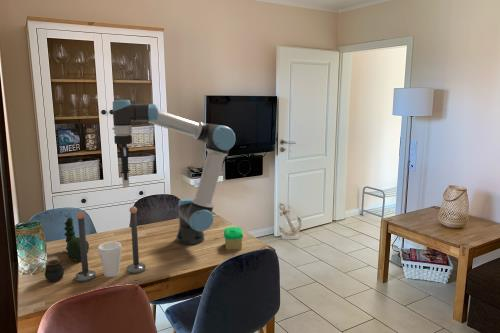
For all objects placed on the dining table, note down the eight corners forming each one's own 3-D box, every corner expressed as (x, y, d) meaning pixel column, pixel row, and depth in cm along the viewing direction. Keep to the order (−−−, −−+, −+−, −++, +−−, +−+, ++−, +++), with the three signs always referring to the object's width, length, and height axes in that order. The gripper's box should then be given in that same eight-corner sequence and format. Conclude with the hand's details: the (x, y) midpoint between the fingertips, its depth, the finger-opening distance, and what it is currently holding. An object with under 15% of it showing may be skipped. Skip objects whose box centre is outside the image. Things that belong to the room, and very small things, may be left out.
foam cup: (100, 280, 161) (98, 251, 159) (99, 271, 170) (97, 243, 167) (124, 276, 165) (122, 247, 163) (121, 267, 173) (120, 240, 171)
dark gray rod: (89, 271, 165) (84, 210, 160) (89, 274, 162) (84, 212, 157) (81, 272, 164) (76, 211, 159) (81, 276, 161) (76, 213, 156)
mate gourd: (66, 274, 166) (64, 253, 164) (61, 283, 159) (59, 261, 157) (49, 275, 165) (46, 254, 163) (42, 284, 157) (40, 262, 155)
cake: (224, 250, 192) (224, 232, 191) (223, 242, 203) (223, 225, 201) (243, 250, 193) (243, 231, 192) (242, 242, 204) (242, 224, 202)
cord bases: (144, 264, 176) (144, 261, 176) (146, 272, 169) (146, 268, 168) (76, 275, 166) (75, 271, 165) (75, 283, 158) (74, 279, 158)
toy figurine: (61, 254, 192) (72, 267, 172) (57, 217, 190) (68, 226, 170) (81, 249, 197) (94, 262, 177) (77, 214, 195) (90, 222, 175)
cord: (139, 264, 173) (136, 205, 168) (140, 267, 170) (137, 207, 165) (132, 265, 172) (128, 206, 167) (132, 268, 169) (129, 208, 164)
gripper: (113, 133, 174) (116, 183, 179) (114, 136, 161) (118, 190, 165) (130, 133, 177) (133, 182, 181) (133, 136, 164) (135, 189, 168)
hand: (126, 186), depth 173 cm, fingers closed
